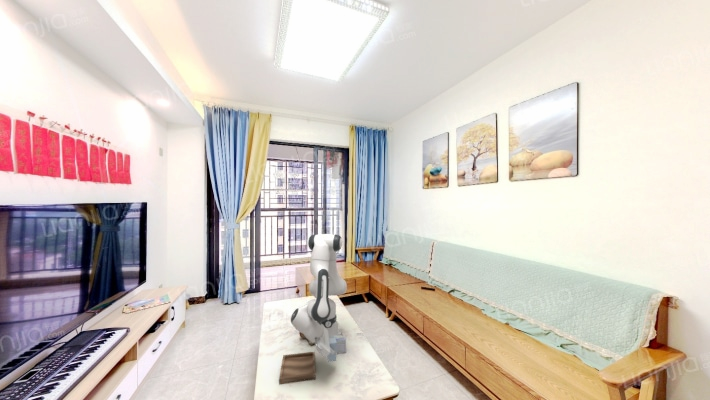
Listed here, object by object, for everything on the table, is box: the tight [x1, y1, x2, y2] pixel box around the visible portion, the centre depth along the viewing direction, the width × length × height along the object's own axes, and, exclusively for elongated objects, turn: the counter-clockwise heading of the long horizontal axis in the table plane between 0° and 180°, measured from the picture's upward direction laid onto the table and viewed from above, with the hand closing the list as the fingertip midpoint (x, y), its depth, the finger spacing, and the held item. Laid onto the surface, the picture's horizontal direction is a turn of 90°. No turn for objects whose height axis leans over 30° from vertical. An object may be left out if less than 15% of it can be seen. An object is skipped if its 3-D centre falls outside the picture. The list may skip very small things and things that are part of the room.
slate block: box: [326, 338, 337, 363], centre depth 128 cm, size 4×4×10 cm
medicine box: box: [333, 334, 347, 354], centre depth 144 cm, size 8×4×9 cm, turn 92°
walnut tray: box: [278, 351, 316, 385], centre depth 128 cm, size 18×18×3 cm
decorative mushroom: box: [298, 331, 315, 346], centre depth 154 cm, size 11×11×15 cm
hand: (333, 348), depth 128 cm, fingers closed on slate block, 4 cm apart
